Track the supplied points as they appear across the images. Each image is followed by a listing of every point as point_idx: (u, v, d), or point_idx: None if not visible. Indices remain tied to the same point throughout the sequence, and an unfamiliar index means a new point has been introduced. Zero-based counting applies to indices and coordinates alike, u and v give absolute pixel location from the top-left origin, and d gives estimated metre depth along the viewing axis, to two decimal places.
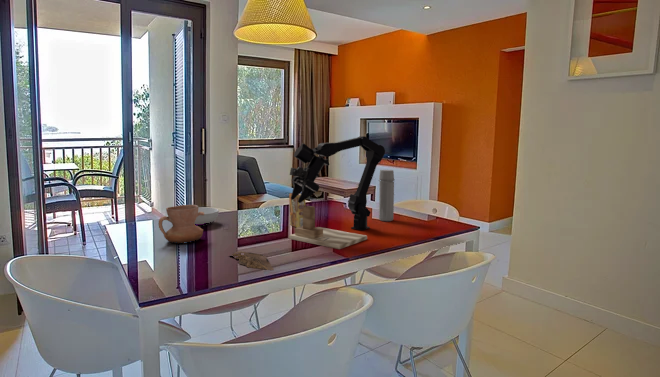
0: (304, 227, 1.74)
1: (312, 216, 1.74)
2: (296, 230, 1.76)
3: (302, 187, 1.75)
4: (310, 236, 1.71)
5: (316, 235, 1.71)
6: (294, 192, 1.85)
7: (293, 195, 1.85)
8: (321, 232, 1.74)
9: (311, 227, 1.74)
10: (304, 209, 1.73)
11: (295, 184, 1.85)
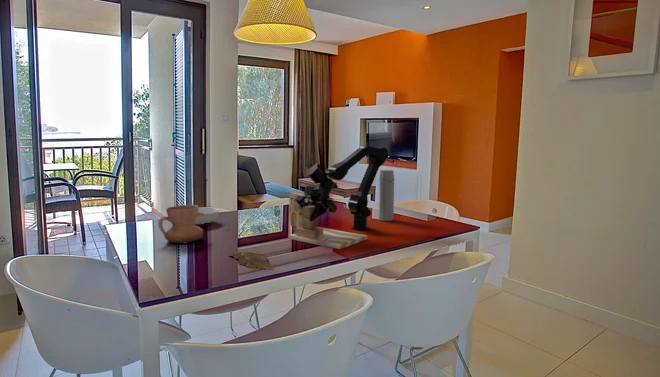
0: (304, 227, 1.74)
1: None
2: (296, 230, 1.76)
3: (316, 206, 1.73)
4: (310, 236, 1.71)
5: (316, 235, 1.71)
6: None
7: None
8: (321, 232, 1.74)
9: (311, 227, 1.74)
10: (304, 209, 1.73)
11: (307, 204, 1.77)
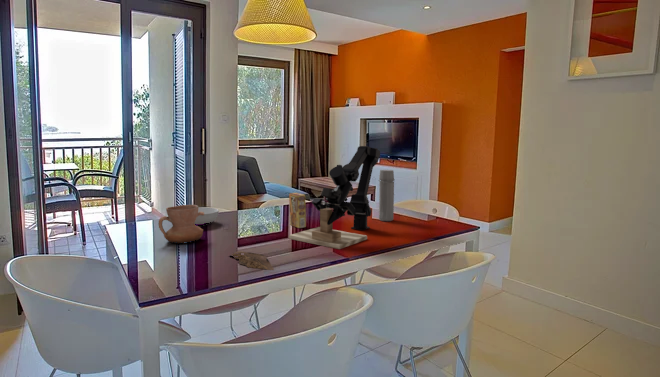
0: (321, 230, 1.69)
1: None
2: (313, 233, 1.70)
3: (333, 208, 1.68)
4: (328, 239, 1.66)
5: (334, 238, 1.66)
6: None
7: None
8: (339, 235, 1.68)
9: (329, 230, 1.68)
10: (322, 211, 1.68)
11: (324, 207, 1.71)
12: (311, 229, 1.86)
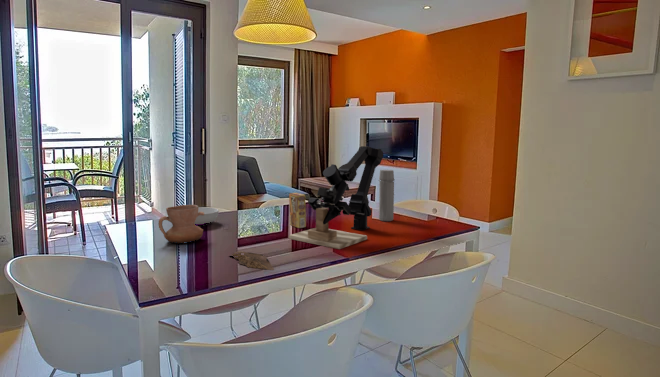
0: (317, 229, 1.70)
1: None
2: (309, 232, 1.71)
3: (329, 208, 1.69)
4: (324, 239, 1.67)
5: (329, 237, 1.67)
6: None
7: None
8: (335, 234, 1.70)
9: (324, 229, 1.70)
10: (317, 211, 1.69)
11: (320, 207, 1.73)
12: None
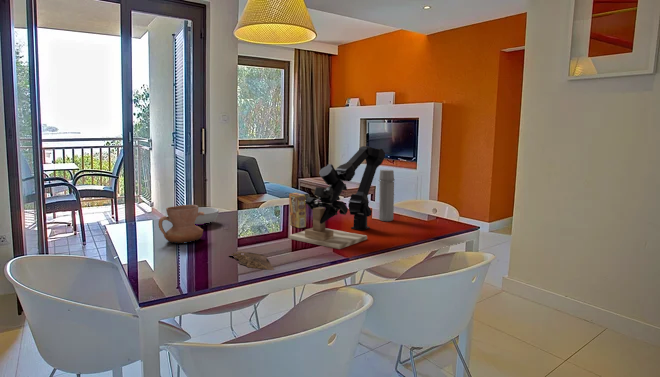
0: (314, 229, 1.71)
1: None
2: (306, 232, 1.72)
3: (326, 207, 1.70)
4: (320, 238, 1.68)
5: (326, 237, 1.68)
6: None
7: None
8: (331, 234, 1.71)
9: (321, 229, 1.71)
10: (314, 210, 1.70)
11: (317, 206, 1.74)
12: None
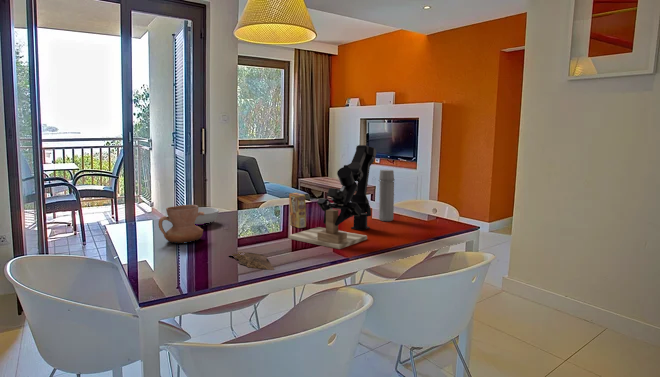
0: (327, 231, 1.67)
1: (336, 219, 1.66)
2: (318, 234, 1.68)
3: (341, 209, 1.65)
4: (334, 241, 1.64)
5: (340, 240, 1.64)
6: None
7: None
8: (345, 236, 1.67)
9: (334, 231, 1.66)
10: (327, 212, 1.66)
11: (328, 207, 1.70)
12: (311, 229, 1.86)
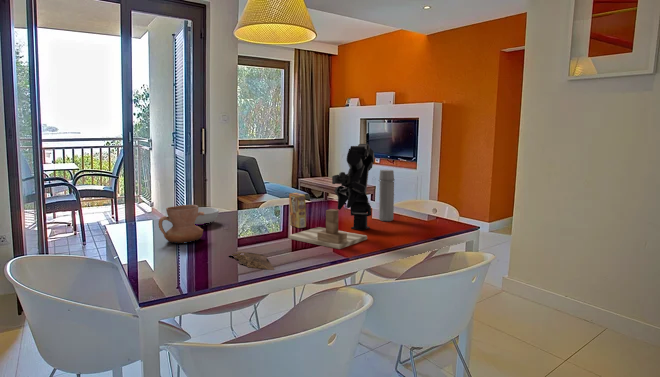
0: (327, 231, 1.67)
1: (336, 219, 1.66)
2: (318, 234, 1.68)
3: (348, 191, 1.70)
4: (334, 241, 1.64)
5: (340, 240, 1.64)
6: (339, 202, 1.79)
7: (339, 205, 1.79)
8: (345, 236, 1.67)
9: (334, 231, 1.66)
10: (327, 212, 1.66)
11: (339, 194, 1.80)
12: (311, 229, 1.86)
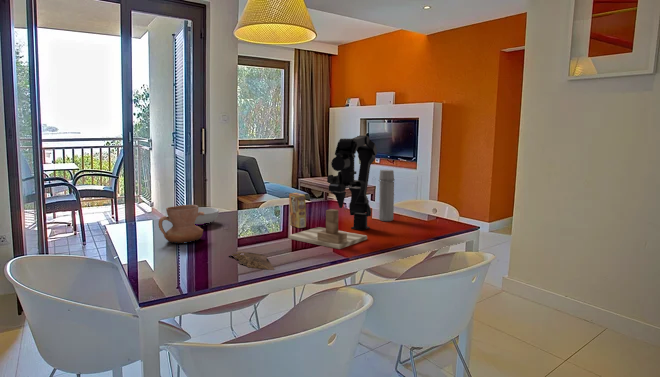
0: (327, 231, 1.67)
1: (336, 219, 1.66)
2: (318, 234, 1.68)
3: (335, 193, 1.74)
4: (334, 241, 1.64)
5: (340, 240, 1.64)
6: (352, 197, 1.82)
7: (352, 200, 1.82)
8: (345, 236, 1.67)
9: (334, 231, 1.66)
10: (327, 212, 1.66)
11: (350, 189, 1.82)
12: (311, 229, 1.86)
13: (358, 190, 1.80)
